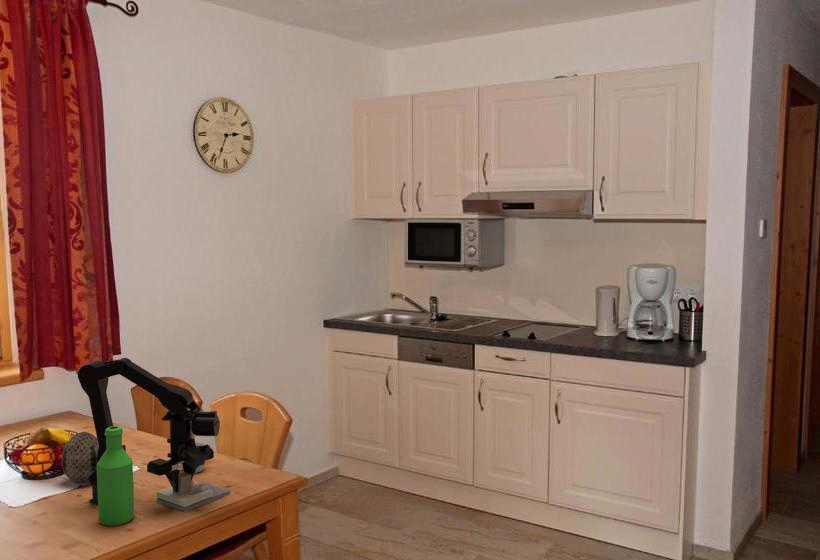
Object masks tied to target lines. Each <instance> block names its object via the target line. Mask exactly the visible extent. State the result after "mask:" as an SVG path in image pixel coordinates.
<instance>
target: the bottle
mask: <svg viewBox="0 0 820 560" xmlns="http://www.w3.org/2000/svg"><path fill="white" fill-rule="evenodd" d="M123 433H124V431H123V427H121V426H119V425H115V426H114V425H113V426H112V427H109V428H107V429H106V430H105V436H106V451H105V452H104V454H103V455H102V457H101V458H100V460H99V462H98V463H97V489H98V505H97V508H98V509H97V510H98V514H97V515H98V522H100V523H101V524H103V525H105V526H111V527H113V526H114V527H115V526H120V525H121V526H122V525H124V524H126V523H128V522H130V521H131V520H132V519H133V518H134V516H135V492H134V491H135V488H134V470H133V468H134V466H133V458H132V457H131V456H130V455H129V454H128V453H127V451H126V452H125V450H124V449H123V448H122V445H123Z"/></svg>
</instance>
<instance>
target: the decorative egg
mask: <svg viewBox="0 0 820 560" xmlns="http://www.w3.org/2000/svg"><path fill="white" fill-rule="evenodd" d="M98 448H99V445H98V440H97V436H96V435H94V434H92V433H91V432H88V431H80V432H77V433H75V434H73V435H72V436H71V437H70V438H69V439H68V440H67V441H66V443H65V445H64V447H63V451H62V454H61V467H62V471H63V473H64V474H65V477H67V478H68V479H69V480H71V481H73V482H75V483H81V484H82V483H87V482H89V479H88V477H89V476H90V475H91V474H92V473H94V472H95V471H96V470H97V460H96V458H97V453H98Z"/></svg>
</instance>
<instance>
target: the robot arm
mask: <svg viewBox="0 0 820 560" xmlns="http://www.w3.org/2000/svg"><path fill="white" fill-rule="evenodd" d="M119 375H120V376H121V377H123V378H124V379H126V380H128V381H130V382H131V383H133V384H134V385H136V386H137V387H139V388H141V389H143V390H144V391H146V392H148V393H150V394H151V395H153V396H155V398H157V400H158V401H159V402H160V404H161V405H162V406H163V407H164V408H165V409H166V410H168V411H167V412H166V414H165V415H164V416H163V417H162V418H161V421H167V422H168V421H169V438H167V440H166V441H167V442H166V443H167V444H169V445H170V446H169V447H170V449H169V450H170V452H168V453H167V458H170V459H168V460H166V459H162V458H160V457H159V458H156V459H154V460H150V461H149V462H148V463H147V464H146V472H147V473H150V474H152V475H155V476H159V477H160V476H161V477H162V476H165V477H166V479H167V480H168V482H169V483H170V487H171V486H172V488H173V490H174V491H175V492H178V474H179V473H181V472H185V473H188V474H191V482H192V480H193V478H194V475H195V474H196V473H195V471H196V469H197V468H198V467H199V466H200V465H204V464H205V465H206V461H209V460H211V459H215V454H214V453H215V452H214V450H213V448H212V447H211V446H210V445H209V444H206V445H203V446H202V445H201V446H196V444H195V442H196V440H195V439H196V438H194V437H192V434H193V435H195V436H196V437H218V436H219V433H220V425H221V421H220V420H219V419H220V418H219V416H218V412H217V411H216V410H210V411H202V409H201V407H200V406H199V404H197V402H196V401H195V400H194V396H193V393H192V391H190V390H189V389H187V388H185V387H183V386H179V385H177V384H171V383H168V382H166V381H164V380H163V379H160V377H157V376H156V375H154V374H152V373H151V372H149V371H147V370H146V369H144V368H142V367H141V366H140V365H138V364H136V363H134V362H133V361H132V360H131V359H130V358H128V357H123V358H120V359H119V358H118V359H113V360H108V361H101V360H93V361H91V362H89V363H87V364H84V365H82V366H81V367H80V368H79V369H78V371H77V379H78V382H79V384H80V387H81V389H82V390H83V392H84V393H85V394H86V395H87V398H88V401H89V406H90V411H91V415H92V419H93V424H94V430H95V434H96V435H95V436H96V438H97V440H98V445H99V448H98V453H97V458H96V460H97V463H98V462H99V460H100V458H101V457H102V455H103V454H104V452H105V451H106V436H105V430H106V429H107V428H109V427H112V426H114V423H113V417H112V414H111V408H110V404H109V397H108V394H107V393H108V392H107V391H108V385H109V378H111V377H114V376H119ZM126 447H127V446H126V445H125V444H122V448H123V449H124V450H125V452H126V453H127V448H126ZM181 463H182V465H183V468H182V470H181V469H179V468H177V465H180V464H181ZM88 479H89V481H88V482H89V484H90V485H91V491H92V493H91V494H92V498H90V499H88V500H89V501H88V502H90V503H92V504H95V505H97V506H98V489H97V470H96V471H95V472H94V473H92V474H91V475H90V476H89V477H88Z"/></svg>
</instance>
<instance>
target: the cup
mask: <svg viewBox="0 0 820 560" xmlns="http://www.w3.org/2000/svg"><path fill="white" fill-rule="evenodd" d="M195 444H196V446H201V445H202V446H203V445H207V444H206V443H204V442H201V441H195ZM205 466H206V463H205V464H204V465H200V466H199V467H198V468H197V469H196V471H195V473H194V474H196V473H197V474H198V473H200V472H202V471H203V470H204V469H205ZM177 469H183V465H182V463H181V464H178V465H177Z"/></svg>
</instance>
